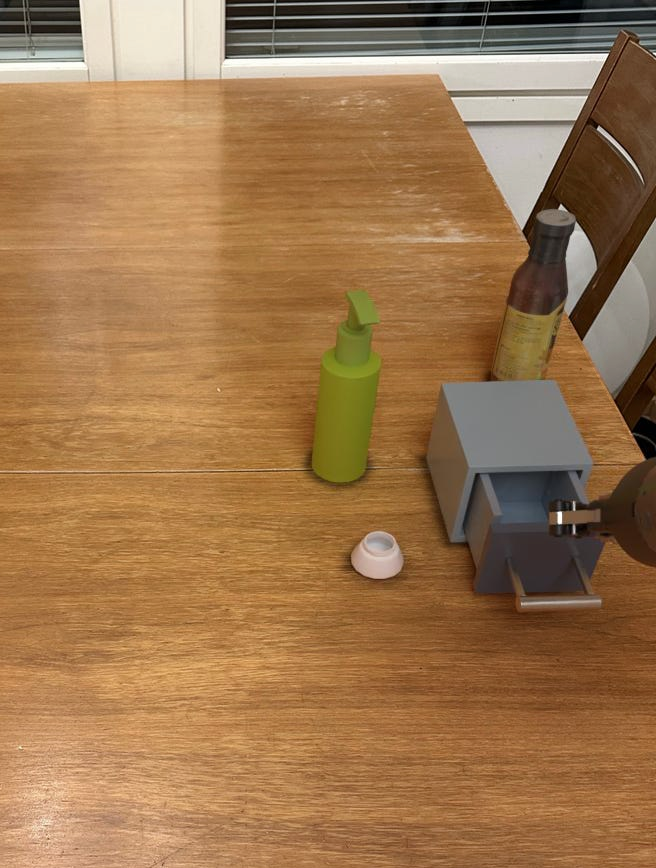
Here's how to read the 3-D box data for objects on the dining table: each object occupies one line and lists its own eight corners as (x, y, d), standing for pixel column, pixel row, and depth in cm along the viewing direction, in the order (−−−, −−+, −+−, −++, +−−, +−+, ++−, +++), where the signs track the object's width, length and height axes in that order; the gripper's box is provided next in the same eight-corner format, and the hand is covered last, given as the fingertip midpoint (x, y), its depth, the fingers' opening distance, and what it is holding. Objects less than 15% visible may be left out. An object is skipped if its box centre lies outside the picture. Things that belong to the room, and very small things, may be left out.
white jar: (360, 540, 98) (343, 572, 96) (363, 518, 96) (346, 550, 93) (408, 554, 97) (393, 587, 94) (413, 532, 95) (397, 565, 92)
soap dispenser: (321, 492, 104) (340, 321, 89) (305, 452, 108) (320, 283, 93) (375, 485, 104) (402, 314, 89) (357, 445, 109) (380, 277, 94)
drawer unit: (566, 539, 98) (594, 463, 91) (450, 543, 98) (468, 466, 91) (532, 454, 107) (555, 379, 100) (425, 457, 107) (441, 382, 100)
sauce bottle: (548, 399, 113) (598, 232, 98) (494, 400, 113) (536, 234, 99) (533, 367, 118) (580, 203, 103) (481, 369, 118) (520, 205, 103)
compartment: (605, 640, 88) (634, 579, 82) (489, 643, 88) (509, 582, 82) (550, 503, 100) (571, 441, 94) (449, 506, 100) (463, 444, 94)
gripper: (806, 444, 61) (669, 474, 78) (592, 449, 61) (503, 478, 78) (804, 565, 61) (669, 568, 78) (592, 570, 61) (503, 572, 79)
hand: (586, 523), depth 78 cm, fingers closed
